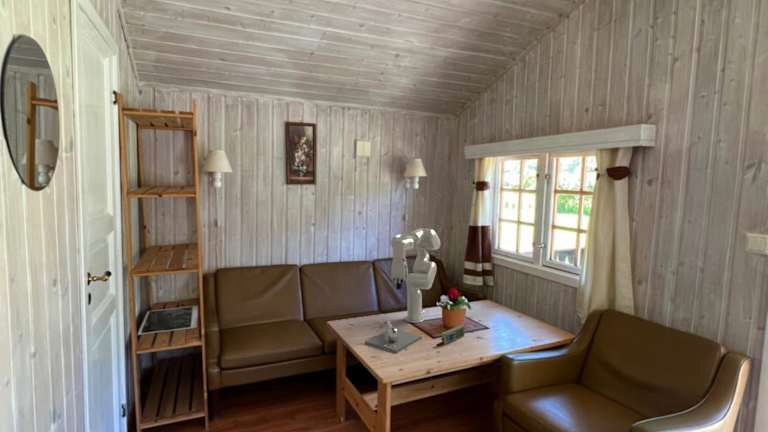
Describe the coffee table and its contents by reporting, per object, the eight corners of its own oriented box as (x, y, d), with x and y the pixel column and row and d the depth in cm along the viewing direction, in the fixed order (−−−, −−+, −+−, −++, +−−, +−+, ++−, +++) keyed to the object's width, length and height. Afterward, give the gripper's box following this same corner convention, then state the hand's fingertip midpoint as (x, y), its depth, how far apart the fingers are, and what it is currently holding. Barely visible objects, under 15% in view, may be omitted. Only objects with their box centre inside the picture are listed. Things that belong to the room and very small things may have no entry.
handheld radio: (465, 336, 258) (439, 348, 241) (460, 335, 261) (434, 346, 243) (465, 325, 258) (439, 336, 241) (460, 324, 260) (434, 335, 243)
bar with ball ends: (383, 329, 263) (382, 317, 263) (391, 329, 264) (390, 317, 263) (390, 345, 239) (390, 332, 238) (399, 344, 240) (399, 331, 239)
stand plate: (391, 330, 267) (391, 327, 267) (421, 338, 254) (421, 335, 254) (365, 343, 247) (365, 340, 247) (396, 353, 234) (396, 350, 233)
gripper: (412, 260, 259) (412, 289, 261) (392, 257, 268) (392, 285, 270) (405, 262, 253) (405, 292, 255) (385, 259, 262) (385, 288, 264)
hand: (399, 289), depth 263 cm, fingers closed
